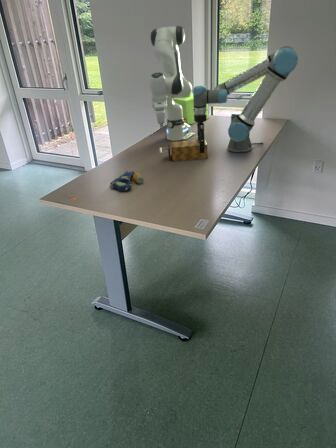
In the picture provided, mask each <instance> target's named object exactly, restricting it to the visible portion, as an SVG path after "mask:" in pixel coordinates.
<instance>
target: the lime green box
mask: <svg viewBox="0 0 336 448" xmlns="http://www.w3.org/2000/svg"><path fill="white" fill-rule="evenodd" d="M173 101H174V102H175V103H177V104H179V105H181V106H182V112H183V118H184V117H185V118H187V120H184V121H185V123H186V124H189V126H191V125H192V124H197V122H195V121H194V115H195V114H194V111H193V109H194V101H193V92H192V93H191V95H190V96H188V97H185V98H175V99H173ZM206 106H207V113H206V114H207V120H208V119H209V104H206Z"/></svg>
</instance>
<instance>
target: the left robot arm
mask: <svg viewBox="0 0 336 448" xmlns="http://www.w3.org/2000/svg"><path fill="white" fill-rule="evenodd" d="M149 37H150V39H149V40H150V42H151V45H152V46H153V48H154V49H153V50H154V55H155V57H156V58H157V60H158V61H160V62H162V63H163V72H164V73H165V74H164V73H163V72H154V73H152V74H151V75H150V79H149V80H150V82H149V83H150V84H149V86H150V87H149V88H150V93H151V105H152V106H151V107H152V108H153V110H154V111H155V116H156V121H157V124H159V128H160V129H164V124H165V119H166V118H165V113H166V116H167V119H166V124H167V128H166V140H168V141H171V142H178V141H187V140H188V139H190V138H191V137H193V136H195V135H196V133H195V132H194V131H192V126H191V125H189V124H186V123H185V121H184V120H187V118H185V117H184V118H183V112H182V106H181V105H179V104H177V103H175V102H174V101H173V99H175V98H185V97H188V96H190V95H191V93H193V86H192V84H191V82H190V81H189V80H187V79H186V78H185V76H184V75H183V73H182V67H181V58H180V57H181V55H180V49H179V48H180V47H181V46H182V45H183V44H184V42H185V39H186V33H185V29H184V27H183V26H182V25H173V26H172V25H171V26H169V25H168V26H162V27H160V28H154V29H152V31H151V32H150V36H149ZM165 75H167V76H165Z"/></svg>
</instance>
